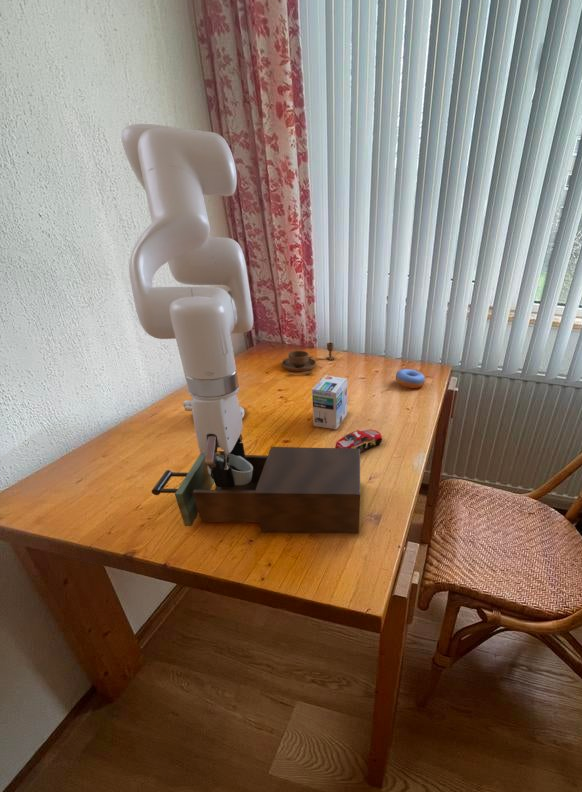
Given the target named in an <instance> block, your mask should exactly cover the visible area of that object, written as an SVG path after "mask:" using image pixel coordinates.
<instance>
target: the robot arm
mask: <svg viewBox="0 0 582 792" xmlns="http://www.w3.org/2000/svg"><path fill="white" fill-rule="evenodd" d="M120 138H121V144H122V148H123V150H124V151H123V152H124V154H125V157H126V159H127V161H128V163H129V165H130V168H131V169H132V171H133V173H134V175H135V177H136V179H137V180H138V182H139V184H140V185H141V187H142V188H143V190H144V192H145V195H146V199H147V205H148V210H149V214H150V220H151V223H150V224H149V225H148V226H147V227H146V228H145V230H144V231H143V232H142V233H141V235H139V237H138V239H137V240H136V242H135V244H134V245H133V248H132V252H131V253H130V256H129V257H130V258H129V265H128V272H129V273H128V274H129V281H130V285H131V291H132V292H131V293H132V296H133V302H134V306H135V312H136V314H137V318H138V322H139V324H140V326H141V327H142V330H143V331H144V332H145V333H146V334H147V335H148V336H150V337H152V338H155V339H158V340H173V339H175V341H176V345H177V350H178V353H179V357H180V361H181V366H182V369H183V374H184V376H185V377H184V378H185V382H186V386H187V391H188V394H189V396H190V397H191V400H183V402H182V405H183V407H184V411H185V412H192V420H193V425H194V430H195V438H196V442H197V446H198V450H199V454H200V453H201V454H206V457H205V463H206V464H207V465H208V466H209V468H210V470H212V473H213V478H214V485H215V487H216V486H217V487H233V486H234V485H235V482H234V477H233V472H232V467H229V453H230V454H233V455H236V456H241V457H243V458H244V459H245V460H246V457H245V455H246V451H245V446H244V442H243V440H244V439H243V438H244V437H243V435H242V432H243V424H244V423H243V418H244V417H245V414H246V413H245V409H244V408H243V407H242V406H241V405H240V401H239V397H238V393H239V391H240V384H239V379H238V372H237V366H236V361H235V354H234V347H233V341H232V336H231V335H232V334H244V333H248V332H250V331H251V330H252V329H253V327H254V312H253V304H252V299H251V291H250V284H249V277H248V269H247V264H246V259H245V254H244V252H243V249H242V247H241V246H240V245H241V244H240V243H238V241H236V240H235V239H233V238H231V237H226V236H225V237H224V236H210V233H211V225H210V220H209V216H208V212H207V211H208V210H207V206H206V203H205V197H204V196H214V197H215V196H217V197H231V196H233V195H234V194H235V193H236V190H237V184H238V182H237V180H238V177H237V168H236V162H235V160H234V159H235V158H234V156H233V153H232V150H231V148H230V146H229V144H228V142H227V141H226V139H225V138H224V137H223V136H222V135H221V134H219V133H218V132H213V131H208V130H199V129H191V128H183V127H176V126H170V125H169V126H168V125H161V124H152V123H134V124H129V125H127V126H125V127H123V129H122V131H121V137H120ZM165 264H168V268H169V271H170V274H171V275H172V277H173V279H174V280H175V281H176V282H178V283H179V284H182V285H188V286H155V287H154V286H153V278H154V276H155V274H156V272H157V271H158V270H159V269H160V268H161V267H163V266H164V265H165ZM190 285H191V286H190ZM217 286H226V287H227V288H228V289H229V290H225V289H223V288H221V287H217ZM218 448H220V449H221V450H218ZM216 455H223V462H222V461H218V459H217V458H216Z"/></svg>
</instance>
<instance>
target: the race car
mask: <svg viewBox="0 0 582 792" xmlns="http://www.w3.org/2000/svg"><path fill="white" fill-rule="evenodd" d="M382 442H383V436H382V434H381V432H380V431H379V430H375V429H364V430H359V429H357V430H354V431H352V432H349V433H347V434H346V435H344V436H342V437H341V438H340V439H337V441H336V443H335V446H334V448H352V449H360V453H361V452H364V451H367V450H368V449H371V448H373V447H375V446H379V445H381V443H382Z"/></svg>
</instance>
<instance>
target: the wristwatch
mask: <svg viewBox="0 0 582 792" xmlns="http://www.w3.org/2000/svg"><path fill="white" fill-rule="evenodd" d="M216 458H217V459H218V461H222V462H223V455H216ZM229 465H232V466H234V467H235V468H237V469H239V470H241V471H243V472H240V471H236V470H232V472H233V477H234V482H235V485H245V484H248V483H249V482H250V481H251V479H252V472H253V466H252V465H251V463H249V462H248V461H247V460H245V459H244V458H243V457H241V456H236V455H233V454H230V453H229ZM229 467H230V466H229ZM208 473H209V474H210V475H211V477H212V478H213V473H212V470H210V468H209V466H208ZM213 480H214V478H213Z"/></svg>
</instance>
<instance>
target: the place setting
mask: <svg viewBox="0 0 582 792" xmlns="http://www.w3.org/2000/svg"><path fill="white" fill-rule="evenodd" d="M326 350H327V351H328V356H327V357H326V360H328V361H334V360H335V358H334V357H333V355H332V351H334V343H333V342H327V343H326ZM281 365H282V367H283V368H284V369H285V370H287V371H290V372H293V373H289V374H287V376H293V375H300V374H302V375H310V374H312V373H313V371H312V370H313V369H314V368H315V367H316V365H317V361H316V360H315V359H314V358H313V356H312V355H310V356H309V353H308V352H307V351H303V350H293V351H289V352H288V358H285V359H283V360H282V361H281Z"/></svg>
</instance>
